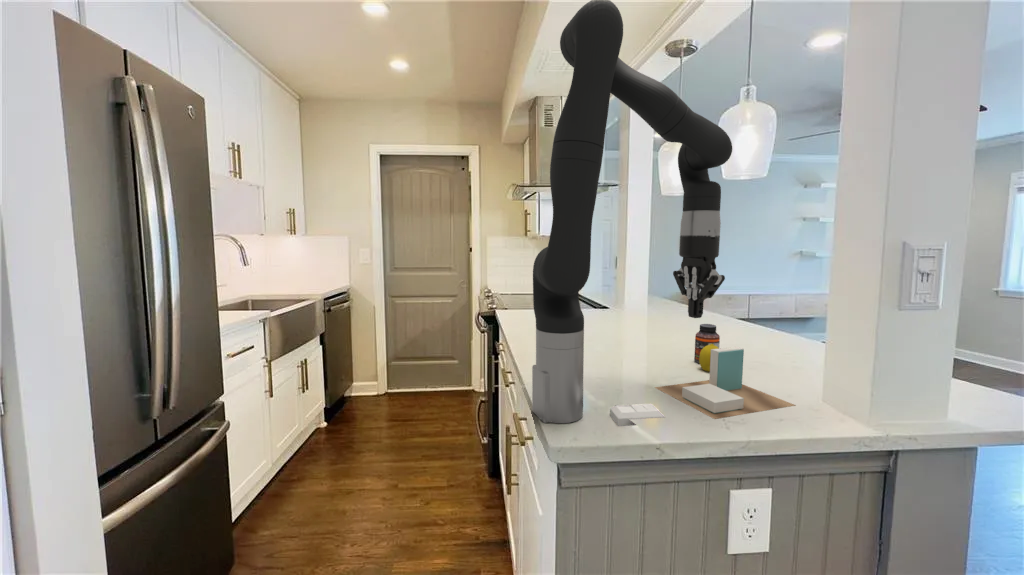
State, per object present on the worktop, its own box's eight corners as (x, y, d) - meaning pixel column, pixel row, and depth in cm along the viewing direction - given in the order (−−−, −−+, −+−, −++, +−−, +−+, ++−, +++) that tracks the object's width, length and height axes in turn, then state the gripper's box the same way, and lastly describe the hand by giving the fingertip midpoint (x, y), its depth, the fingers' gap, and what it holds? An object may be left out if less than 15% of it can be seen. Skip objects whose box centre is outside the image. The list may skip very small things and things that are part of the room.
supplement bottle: (689, 364, 119) (690, 323, 118) (707, 362, 121) (708, 322, 120) (704, 371, 113) (706, 328, 112) (723, 368, 115) (725, 326, 114)
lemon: (725, 379, 107) (726, 347, 106) (701, 377, 108) (702, 346, 107) (719, 372, 112) (720, 341, 112) (696, 371, 114) (697, 340, 113)
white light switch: (665, 425, 82) (665, 411, 82) (618, 427, 81) (618, 414, 81) (654, 415, 87) (654, 402, 87) (609, 417, 86) (610, 404, 86)
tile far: (716, 392, 94) (718, 351, 93) (709, 389, 97) (710, 349, 95) (742, 388, 97) (744, 349, 96) (734, 385, 99) (736, 346, 98)
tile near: (681, 397, 92) (714, 414, 83) (682, 387, 91) (714, 402, 83) (709, 393, 94) (743, 409, 85) (709, 383, 94) (743, 398, 85)
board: (714, 425, 81) (714, 418, 81) (654, 392, 98) (654, 387, 98) (795, 411, 87) (795, 405, 87) (725, 382, 104) (725, 377, 104)
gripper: (663, 234, 95) (660, 313, 97) (708, 233, 82) (703, 324, 84) (692, 234, 97) (688, 311, 99) (740, 234, 85) (734, 322, 87)
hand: (695, 317), depth 92 cm, fingers closed
